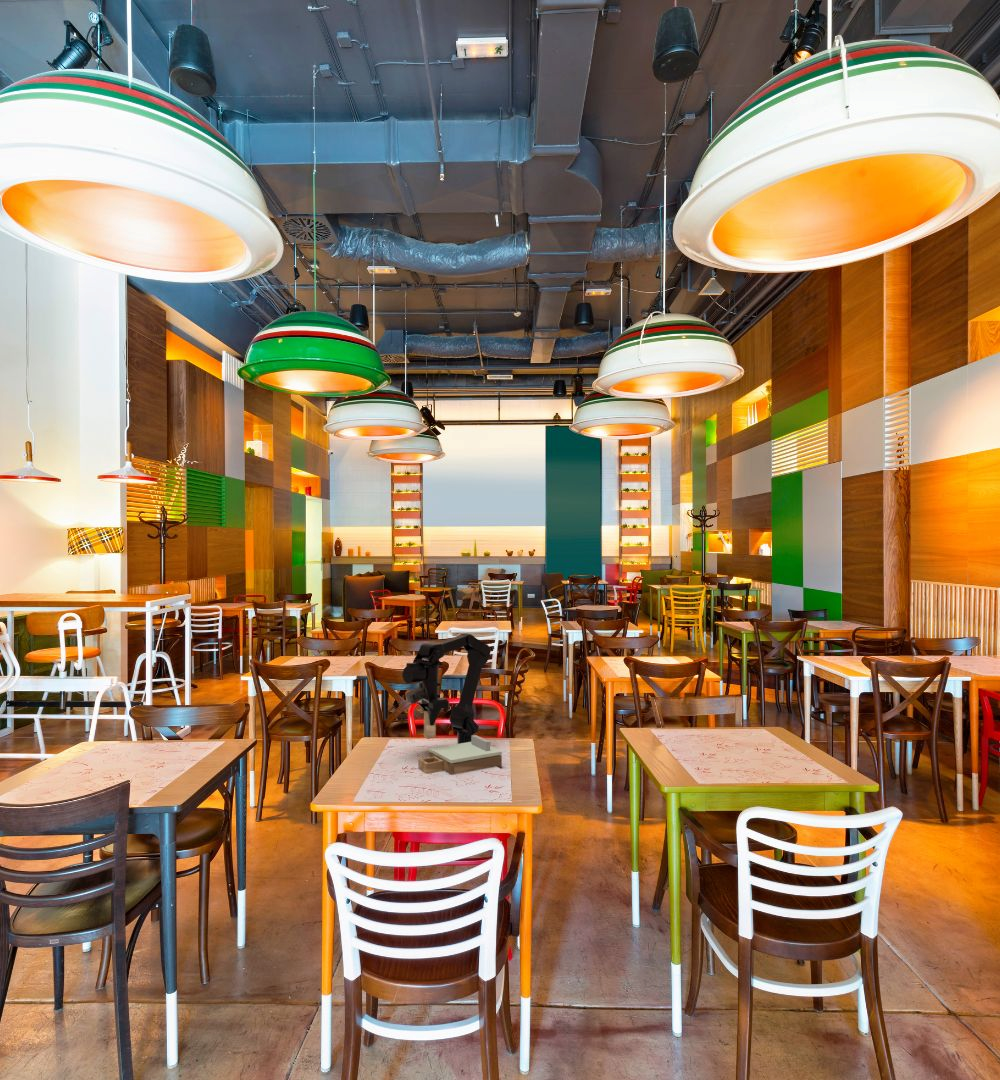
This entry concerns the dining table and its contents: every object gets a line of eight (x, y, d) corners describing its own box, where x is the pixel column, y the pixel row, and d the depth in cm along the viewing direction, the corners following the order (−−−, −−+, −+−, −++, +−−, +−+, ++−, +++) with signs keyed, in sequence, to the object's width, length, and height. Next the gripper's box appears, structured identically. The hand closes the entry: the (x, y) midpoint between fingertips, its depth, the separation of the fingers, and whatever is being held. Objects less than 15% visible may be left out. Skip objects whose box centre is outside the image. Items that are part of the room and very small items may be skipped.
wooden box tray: (412, 767, 220) (412, 755, 220) (477, 756, 233) (477, 744, 233) (433, 781, 206) (433, 767, 206) (501, 768, 219) (501, 755, 219)
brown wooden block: (423, 736, 231) (423, 711, 232) (431, 735, 233) (431, 710, 233) (427, 738, 229) (427, 712, 229) (435, 737, 230) (435, 711, 231)
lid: (429, 751, 223) (429, 739, 223) (477, 743, 233) (477, 732, 233) (450, 763, 209) (451, 750, 210) (501, 754, 219) (501, 742, 220)
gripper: (398, 677, 235) (397, 721, 235) (420, 686, 220) (420, 733, 219) (426, 675, 241) (426, 718, 241) (449, 682, 225) (449, 728, 225)
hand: (429, 724), depth 231 cm, fingers closed on brown wooden block, 3 cm apart
